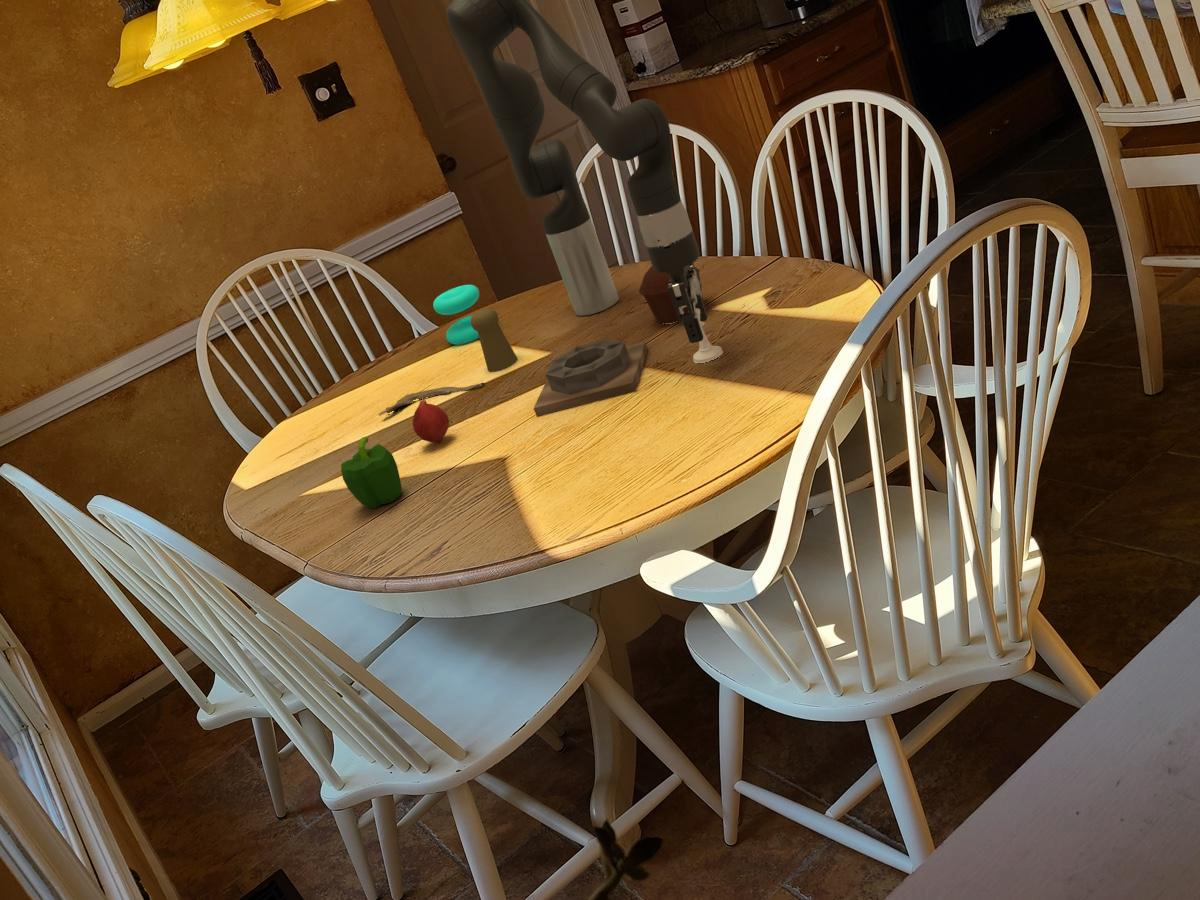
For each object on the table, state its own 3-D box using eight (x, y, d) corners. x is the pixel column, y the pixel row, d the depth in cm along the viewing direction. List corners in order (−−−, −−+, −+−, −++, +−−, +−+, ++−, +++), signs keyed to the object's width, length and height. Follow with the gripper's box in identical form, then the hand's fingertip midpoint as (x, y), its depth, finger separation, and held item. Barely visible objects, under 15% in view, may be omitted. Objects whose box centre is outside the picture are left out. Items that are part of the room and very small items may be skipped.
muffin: (653, 311, 207) (636, 261, 203) (710, 294, 204) (694, 244, 200) (648, 334, 196) (630, 282, 192) (708, 317, 194) (691, 264, 190)
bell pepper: (387, 514, 165) (359, 457, 161) (349, 514, 170) (321, 459, 166) (421, 484, 171) (395, 428, 167) (384, 485, 176) (357, 430, 172)
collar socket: (556, 373, 195) (547, 350, 193) (647, 349, 190) (639, 325, 188) (536, 416, 180) (526, 392, 178) (635, 391, 175) (626, 365, 173)
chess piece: (689, 366, 177) (670, 309, 173) (698, 352, 180) (680, 296, 176) (718, 361, 174) (700, 303, 170) (726, 347, 178) (708, 290, 174)
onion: (429, 454, 181) (410, 411, 178) (418, 446, 186) (399, 404, 183) (460, 438, 183) (441, 395, 180) (449, 430, 188) (430, 389, 185)
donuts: (485, 282, 228) (448, 303, 223) (503, 326, 232) (466, 348, 227) (458, 282, 235) (422, 303, 230) (476, 325, 239) (440, 346, 234)
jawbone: (390, 408, 212) (386, 398, 212) (491, 375, 210) (487, 365, 210) (382, 422, 204) (377, 412, 203) (486, 388, 202) (482, 378, 201)
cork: (519, 353, 211) (498, 301, 207) (515, 366, 206) (493, 312, 202) (490, 362, 213) (469, 310, 208) (485, 375, 207) (462, 321, 203)
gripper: (650, 228, 176) (680, 321, 183) (638, 256, 164) (672, 354, 170) (695, 215, 174) (724, 309, 181) (687, 242, 162) (719, 342, 168)
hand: (699, 331), depth 175 cm, fingers open, 8 cm apart
